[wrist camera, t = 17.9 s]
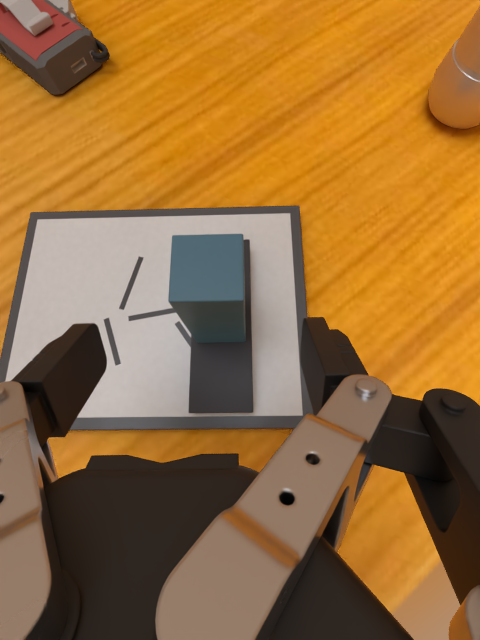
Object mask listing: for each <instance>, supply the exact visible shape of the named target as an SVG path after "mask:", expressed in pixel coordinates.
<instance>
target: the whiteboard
mask: <svg viewBox="0 0 480 640" xmlns="http://www.w3.org/2000/svg"><path fill="white" fill-rule="evenodd" d="M205 234H243V237H244V240H245V239H249V240H250V278H251V325H252V372H253V413H189V384H190V355H191V333H190V332H189V330H188V329H187V327H186V326H185V325H184V323H183V322H182V320H181V319H180V317H179V316H178V315H177V313H176V312H175V310H174V309H173V307H172V306H171V305H170V303H169V301H168V297H169V280H170V263H171V245H172V236H173V235H205ZM303 318H307V305H306V291H305V278H304V264H303V250H302V236H301V222H300V209H299V206H264V207H225V208H185V209H145V210H105V211H65V212H31V214H30V219H29V223H28V228H27V233H26V238H25V243H24V247H23V252H22V257H21V262H20V267H19V272H18V276H17V281H16V286H15V291H14V296H13V300H12V305H11V310H10V315H9V320H8V325H7V329H6V334H5V339H4V344H3V349H2V353H1V358H0V383H1V382H7V381H11V380H12V379H13V378H14V377H15V376H16V375H17V374H18V373H19V372H20V371H21V370H22V369H23V368H24V367H25V366H26V365H27V364H28V363H29V362H30V361H32V360H33V358H34V357H35V356H36V355H37V354H39V352H40V351H41V350H42V349H43V348H44V347H45V346H46V345H47V344H48V343H50V342H52V341H53V340H55V339H57V338H58V337H60V336H62V335H63V334H64V333H65V332H66V331H67V330H68V329H69V328H70V327H71V326H72V325H73V324H77V323H95V324H96V325H97V326H98V328H99V332H100V335H101V339H102V342H103V346H104V349H105V353H106V357H107V367H106V370H105V373H104V374H103V376H102V378H101V379H100V381H99V382H98V384H97V386H96V387H95V389H94V391H93V392H92V394H91V395H90V397H89V399H88V400H87V402H86V403H85V405H84V407H83V408H82V410H81V412H80V413H79V415H78V416H77V418H76V420H75V421H74V423H73V425H72V426H71V428H70V429H69V430H160V429H283V428H296V426H297V425H298V424H299V422H300V421H301V420H302V419H303V417H304V416H305V415H306V414H308V413H311V414H313V415H314V413H313V409H312V405H311V401H310V398H309V394H308V390H307V386H306V382H305V379H304V375H303V371H302V367H301V358H300V351H301V337H302V323H303Z"/></svg>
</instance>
